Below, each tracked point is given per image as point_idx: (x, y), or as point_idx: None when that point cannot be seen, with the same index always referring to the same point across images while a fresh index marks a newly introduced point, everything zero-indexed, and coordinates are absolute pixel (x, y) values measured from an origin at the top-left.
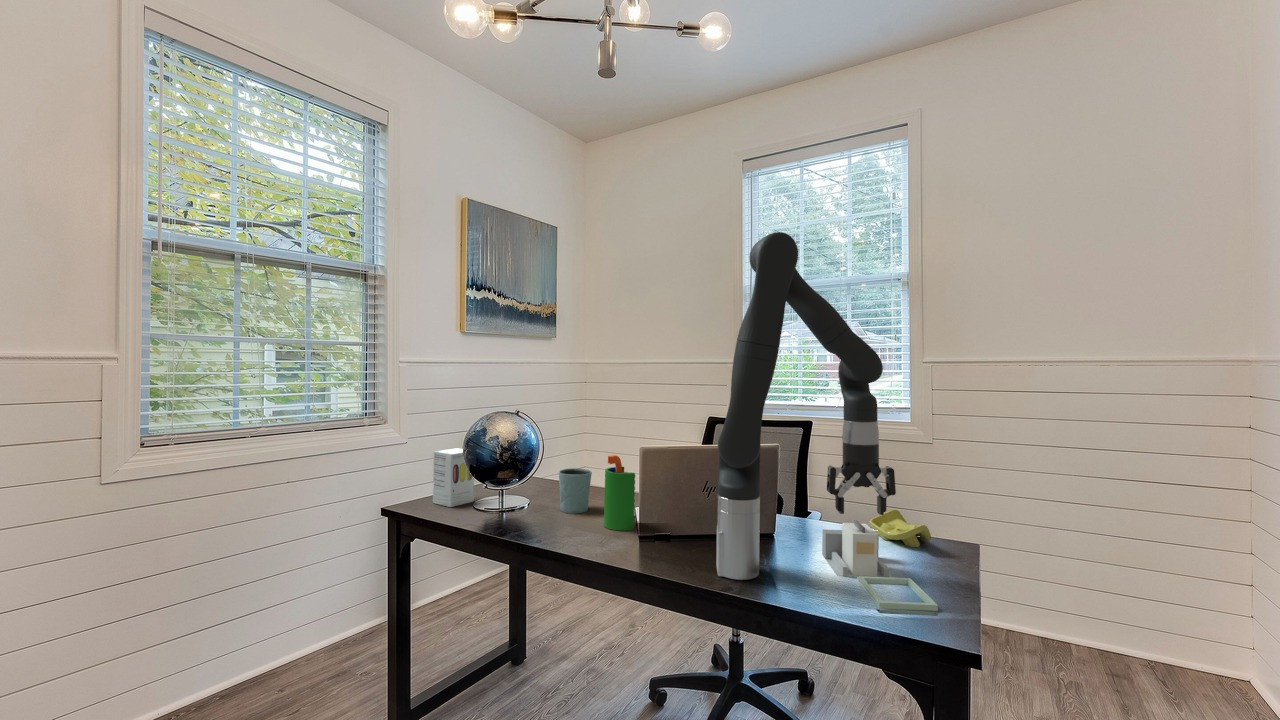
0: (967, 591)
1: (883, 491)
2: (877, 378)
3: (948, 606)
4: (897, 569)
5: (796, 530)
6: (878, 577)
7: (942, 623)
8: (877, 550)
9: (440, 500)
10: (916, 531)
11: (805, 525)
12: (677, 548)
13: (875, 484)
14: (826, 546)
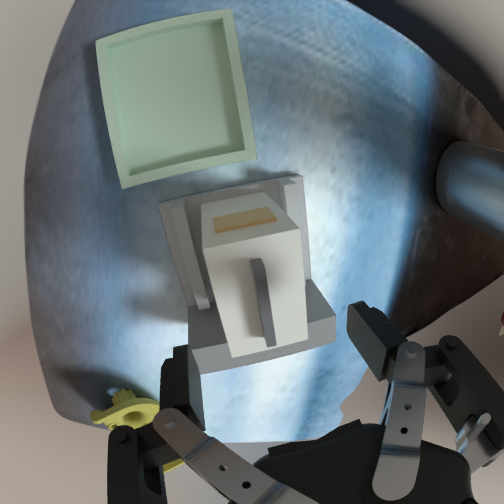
0: (26, 211)
1: (174, 440)
2: None
3: (68, 107)
4: (147, 290)
5: (322, 403)
6: (203, 165)
7: (105, 18)
8: (202, 227)
9: None
10: (109, 410)
11: (302, 424)
12: (495, 255)
13: (233, 468)
14: (320, 295)
